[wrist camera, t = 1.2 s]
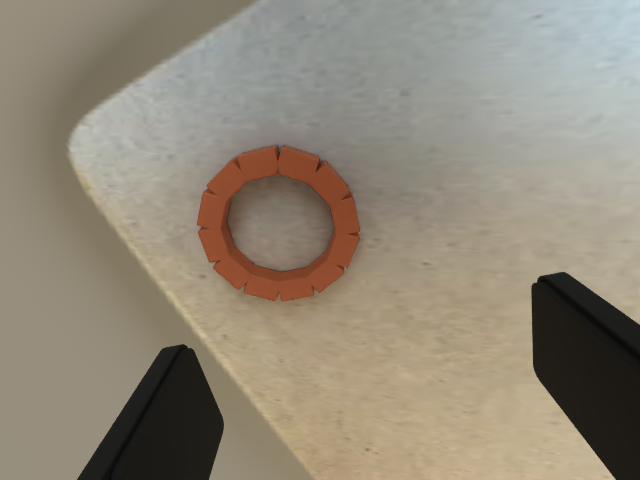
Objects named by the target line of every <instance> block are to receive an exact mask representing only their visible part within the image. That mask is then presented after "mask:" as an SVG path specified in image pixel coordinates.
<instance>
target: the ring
mask: <svg viewBox="0 0 640 480" xmlns="http://www.w3.org/2000/svg"><path fill="white" fill-rule="evenodd" d="M318 163H319V156H318V155H314V154H311V153H308V152H305V151H302V150H298V149H295V148H292V147H289V146H286V145H284V146H283V147H282V149H281V151H280V152H279V149H278V146H277V145H274V146H270V147H265V148H261V149H257V150H253V151H248V152H244V153H242V154H241V155H239V156H238V157H235V158H234V159H232V160H231V161H230V162H229V163H228V164H227V165H226V166H225V167H224V168H223V169H222V170H221V171H220V172H219V173H218V174H217V175H216V176H215V177H214V178H213V179H212V180H211V181H210V182H209V183H208V184H207V187H208V189H206V190H205V191H204V192H203V195H202V200H201V205H200V211H199V216H198V221H197V225H198V226H202V227H201V228H200V229H199V231H198V234H199V237H200V239H201V242H202V245H203V247H204V250H205V253H206V255H207V258H208V260H209V262H215V261H217V262H216V263H215V265H214V267H213V269H215V270H216V271H217V272H218V273H219V274H220V275H222V276H223V277H224V278H225V279H226V280H227V281H228V282H230V283H231V284H232V285H233V286H234V287H235V288H237V289H238V290H239V289H240V288H241V287H242V286H243V285H245V284H246V285H245V289H244V293H247V294H251V295H254V296H258V297H262V298H266V299H269V300H273V301H276V300H277V297H278V293H279V294H280V297H281V300H282V301H287V300H293V299H298V298H303V297H308V296H313V295H314V288H315V289H316V290H317V291H318V292H319V293H320V292H321V291H322V290H324V289H325V288H326V287H327V286H329V285H330V284H331V283H332V282H334V281H335V280H336V279H337V278H339V277H340V276H341V275H342V274H344V267H346V268H348V267H349V264H350V262H351V259H352V256H353V254H354V251H355V248H356V246H357V243H358V240H359V234H358V232H359V231H360V228H359V223H358V218H357V213H356V208H355V203H354V198H353V194H352V192H350V189H349V186H348V184H347V183H346V182H345V181H344V180H343V179H342V178H341V177H340V176H339V175H338V173H337V172H336V171H335V170H334V169H333V168H332V167H331V166H330V165H329V164H328V162H327V161H326V160H324V161H323V162H322V163H321V164H319V165H318ZM277 174H279V175H282V176H286V177H289V178H292V179H295V180H299V181H302V182H305V183H309V185H310V186H311V187H312V188H313V189H314V190H315V191H316V192H317V193H318V194H319V195H320V196H321V197H322V198H323V199H324V200H325V201H326V202H327V203H328V204H329V206H330V210H331V214H332V218H333V223H334V227H335V228H334V231H333V234H332V237H331V240H330V243H329V246H328V249H327V251H326V252H325V253H323V254H322V255H321V256H320V257H319V258H317V259H316V260H315V261H314V262H313V263H311V264H310V265H309V266H308V267H306V268H301V269H296V270H291V271H286V272H277V271H274V270H270V269H267V268H263V267H259V266H256V265H254V264H253V263H252V262H251V261H250V260H249V259H248V258H247V257H246V256H244V255H243V254H242V253H241V252H240V251H239V250H238V249H237V248H236V247H235V246H234V243H233V240H232V237H231V234H230V231H229V228H228V226H227V223H226V221H227V216H228V212H229V207H230V203H231V198H232V196H233V195H234V194H235V193H236V192H237V191H238V190H239V189H240V188H241V187H242V186H243V185H244V184H245V183H246V182H247V181H250V180H255V179H259V178H263V177H268V176H272V175H277Z"/></svg>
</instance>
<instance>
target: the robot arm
mask: <svg viewBox="0 0 640 480" xmlns="http://www.w3.org/2000/svg"><path fill="white" fill-rule="evenodd" d="M531 290H532V335H533V367H534V371H535V373H536V375H537V377H538V379H539V380H540V382H541V383H542V384H543V386H544V387H545V388H546V390H547V391H548V392H549V393H550V395H551V396H552V397H553V399H554V400H555V401H556V403H557V404H558V405H559V406H560V408H561V409H562V410H563V412H564V413H565V414H566V415H567V417H568V418H569V419H570V421H571V422H572V423H573V425H574V426H575V427H576V428H577V430H578V431H579V432H580V434H581V435H582V436H583V438H584V439H585V440H586V441H587V443H588V444H589V445H590V447H591V448H592V449H593V451H594V452H595V453H596V454H597V456H598V457H599V458H600V460H601V461H602V462H603V464H604V465H605V466H606V467H607V469H608V470H609V471H610V473H611V474H612V475H613V476H614V478H615V479H616V480H640V325H639V324H638V323H636V322H635V321H633V320H632V319H631V318H629V317H628V316H626V315H625V314H624V313H622V312H621V311H619V310H618V309H617V308H615V307H614V306H612V305H611V304H610V303H608V302H607V301H605V300H604V299H603V298H601V297H600V296H598V295H597V294H595V293H594V292H593V291H591V290H590V289H588V288H587V287H586V286H584V285H583V284H581V283H580V282H579V281H577V280H576V279H574V278H573V277H572V276H570V275H569V274H567V273H565V272H560V273H555V274H549V275H544V276H540V277H539V278H538V280H537V283H534V284H532V289H531ZM223 429H224V422H223V418H222V415H221V413H220V410H219V408H218V406H217V403H216V401H215V399H214V396H213V394H212V392H211V389H210V387H209V385H208V382H207V380H206V378H205V375H204V373H203V371H202V368H201V366H200V364H199V361H198V359H197V357H196V354H195V352H194V350H193V349H191V348H188V347H187V346H186V345H184V344H182V345H176V346H171V347H166V348H163V349H162V350H161V351H160V353H159V354H158V356H157V357H156V359H155V360H154V362H153V363H152V365H151V366H150V368H149V369H148V371H147V373H146V374H145V376H144V377H143V379H142V380H141V382H140V383H139V385H138V387H137V388H136V390H135V391H134V393H133V394H132V396H131V397H130V399H129V401H128V402H127V403H126V405H125V406H124V408H123V410H122V411H121V413H120V414H119V416H118V417H117V419H116V421H115V422H114V423H113V425H112V427H111V428H110V430H109V431H108V433H107V434H106V436H105V437H104V439H103V441H102V442H101V443H100V445H99V447H98V448H97V450H96V451H95V453H94V454H93V456H92V458H91V459H90V461H89V462H88V464H87V465H86V467H85V468H84V470H83V471H82V473H81V474H80V476H79V477H78V479H77V480H209V477H210V474H211V470H212V467H213V464H214V460H215V457H216V454H217V450H218V447H219V443H220V441H221V437H222V434H223Z"/></svg>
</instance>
